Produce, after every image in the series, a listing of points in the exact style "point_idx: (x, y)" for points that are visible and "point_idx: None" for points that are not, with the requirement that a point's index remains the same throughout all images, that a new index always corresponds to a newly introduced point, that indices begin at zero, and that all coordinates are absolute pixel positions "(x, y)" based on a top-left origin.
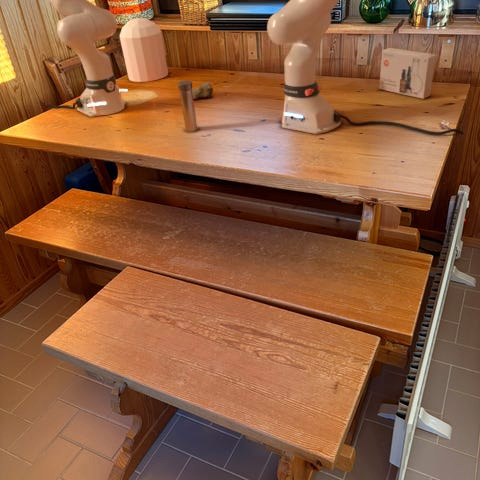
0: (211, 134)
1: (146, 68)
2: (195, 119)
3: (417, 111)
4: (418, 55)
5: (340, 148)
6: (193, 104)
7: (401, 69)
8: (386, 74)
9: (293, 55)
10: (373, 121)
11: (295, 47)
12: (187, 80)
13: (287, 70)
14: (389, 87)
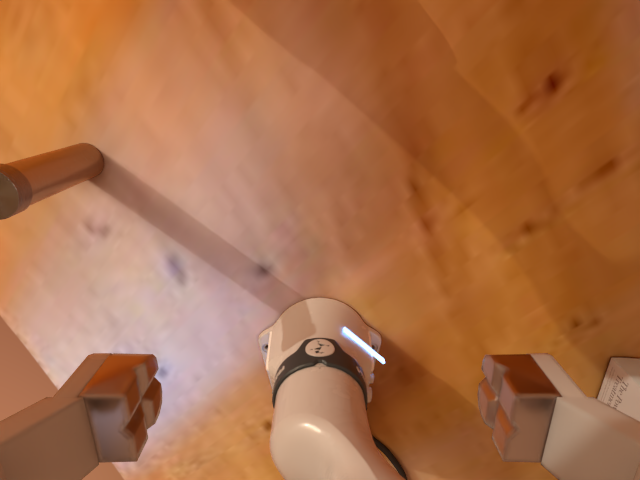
0: (111, 232)
1: None
2: (81, 182)
3: (499, 476)
4: None
5: (257, 468)
6: (56, 193)
7: None
8: (630, 403)
9: (291, 468)
10: (390, 459)
11: (324, 466)
12: (11, 182)
13: (271, 429)
14: (607, 390)
